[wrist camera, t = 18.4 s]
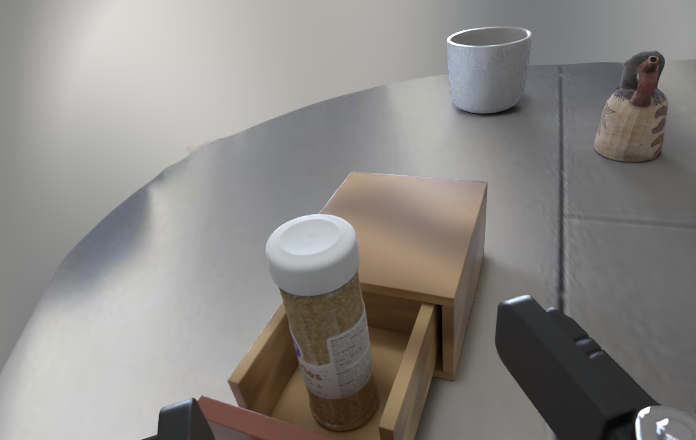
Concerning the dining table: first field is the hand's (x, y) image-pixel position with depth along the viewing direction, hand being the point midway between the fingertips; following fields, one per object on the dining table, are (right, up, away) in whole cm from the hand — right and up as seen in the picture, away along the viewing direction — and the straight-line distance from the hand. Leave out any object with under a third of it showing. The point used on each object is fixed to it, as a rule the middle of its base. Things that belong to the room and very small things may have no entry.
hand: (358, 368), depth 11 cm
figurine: (+35, +12, +44) cm, 58 cm away
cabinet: (+4, -3, +28) cm, 29 cm away
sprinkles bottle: (0, -8, +18) cm, 20 cm away
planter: (+23, +23, +63) cm, 71 cm away
